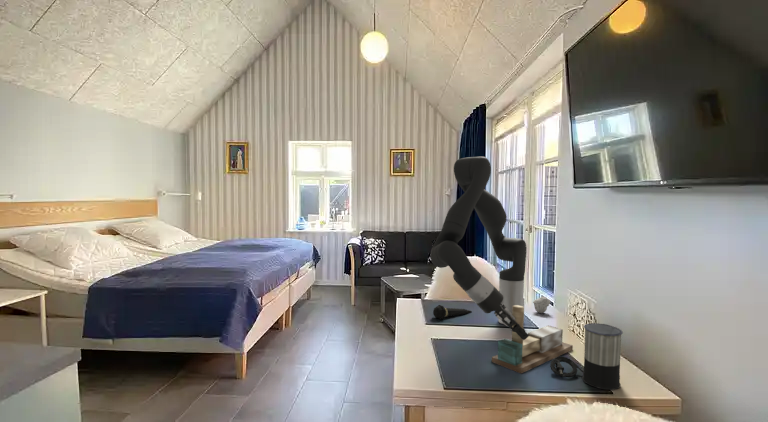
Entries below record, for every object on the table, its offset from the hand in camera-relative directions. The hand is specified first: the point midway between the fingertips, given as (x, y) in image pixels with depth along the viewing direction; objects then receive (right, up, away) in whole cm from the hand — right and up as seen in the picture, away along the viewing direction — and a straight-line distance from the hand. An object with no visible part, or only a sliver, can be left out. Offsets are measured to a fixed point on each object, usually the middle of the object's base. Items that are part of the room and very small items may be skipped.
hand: (524, 335), depth 123 cm
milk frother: (+13, -9, -9) cm, 19 cm away
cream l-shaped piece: (+2, -6, +3) cm, 7 cm away
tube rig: (+5, -8, +6) cm, 11 cm away
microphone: (-13, -7, +46) cm, 49 cm away
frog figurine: (+25, -6, +53) cm, 59 cm away
